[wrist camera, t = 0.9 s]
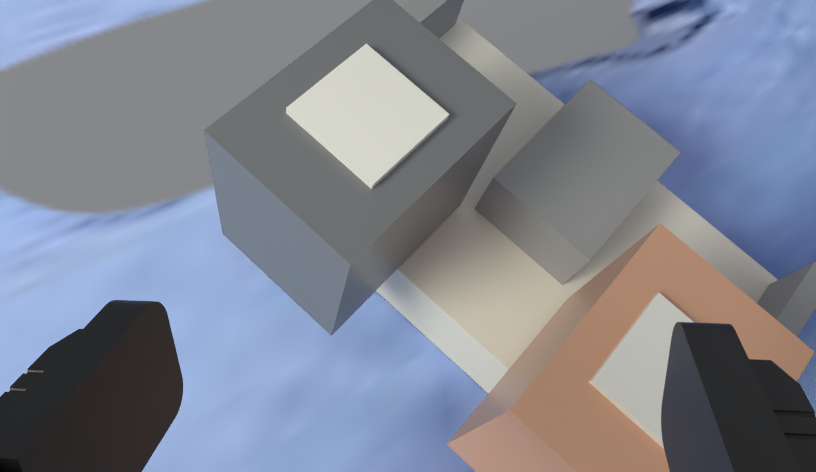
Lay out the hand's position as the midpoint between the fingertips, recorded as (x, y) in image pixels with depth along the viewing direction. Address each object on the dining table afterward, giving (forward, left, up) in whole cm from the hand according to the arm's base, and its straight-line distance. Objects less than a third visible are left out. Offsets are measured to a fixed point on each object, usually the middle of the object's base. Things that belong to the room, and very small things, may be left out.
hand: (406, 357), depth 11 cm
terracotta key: (+6, +7, -16) cm, 19 cm away
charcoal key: (-6, +7, -16) cm, 19 cm away
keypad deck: (0, +13, -20) cm, 24 cm away
